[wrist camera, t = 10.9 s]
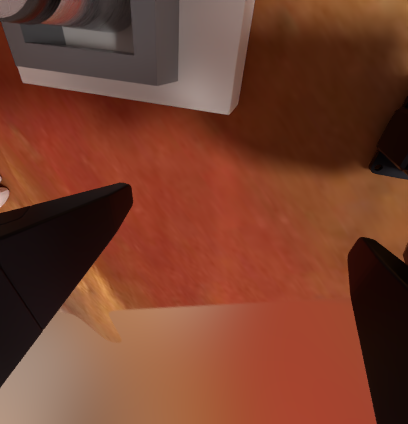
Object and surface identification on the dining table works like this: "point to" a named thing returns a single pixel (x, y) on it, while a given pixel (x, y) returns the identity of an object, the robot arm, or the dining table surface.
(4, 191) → the water bottle
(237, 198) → the dining table surface
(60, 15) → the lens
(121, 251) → the dining table surface
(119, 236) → the dining table surface
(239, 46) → the tray on white base
